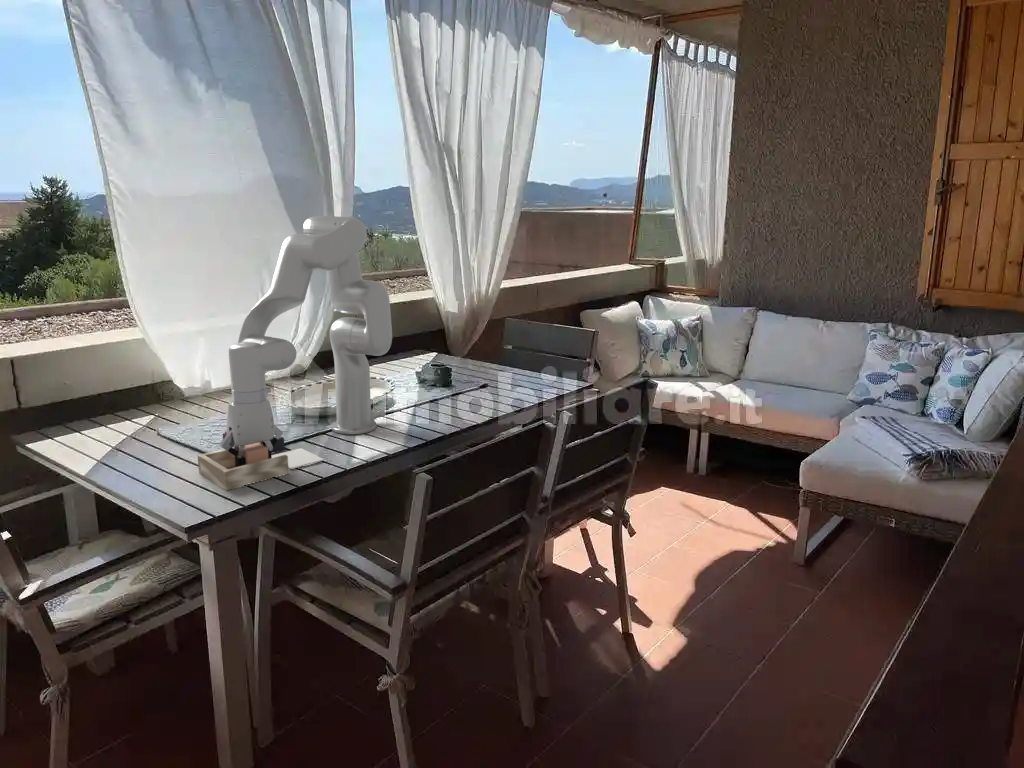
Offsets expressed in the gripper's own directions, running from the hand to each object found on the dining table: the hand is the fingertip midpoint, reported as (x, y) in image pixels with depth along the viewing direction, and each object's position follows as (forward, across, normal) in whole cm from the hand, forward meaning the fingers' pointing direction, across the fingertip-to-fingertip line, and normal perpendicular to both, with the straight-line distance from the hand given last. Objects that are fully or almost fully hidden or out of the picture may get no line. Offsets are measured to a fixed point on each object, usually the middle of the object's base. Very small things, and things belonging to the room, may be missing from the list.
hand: (254, 468), depth 175 cm
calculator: (+1, -8, -16) cm, 18 cm away
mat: (+1, -11, 0) cm, 11 cm away
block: (+1, 0, 0) cm, 1 cm away
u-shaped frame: (+1, +2, 0) cm, 2 cm away
